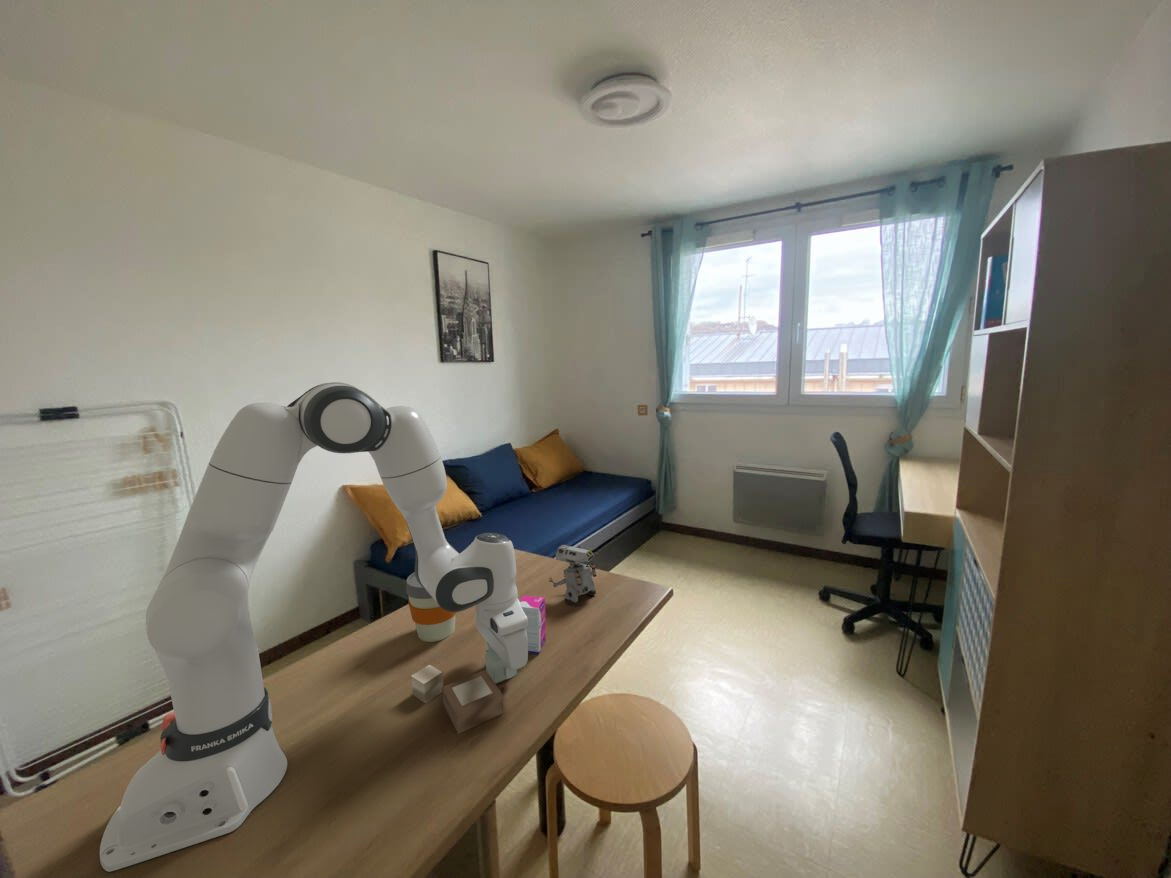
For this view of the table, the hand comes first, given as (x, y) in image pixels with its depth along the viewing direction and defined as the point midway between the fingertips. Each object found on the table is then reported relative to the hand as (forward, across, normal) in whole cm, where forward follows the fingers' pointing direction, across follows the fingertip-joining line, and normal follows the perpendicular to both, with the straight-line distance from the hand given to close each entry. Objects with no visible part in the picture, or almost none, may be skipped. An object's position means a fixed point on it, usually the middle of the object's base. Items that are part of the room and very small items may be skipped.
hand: (501, 665), depth 102 cm
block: (+2, -3, -15) cm, 15 cm away
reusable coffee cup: (+2, -25, -7) cm, 26 cm away
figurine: (+2, -19, +31) cm, 36 cm away
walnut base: (+2, +7, -9) cm, 12 cm away
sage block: (+2, 0, 0) cm, 2 cm away
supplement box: (+2, -5, +10) cm, 11 cm away
